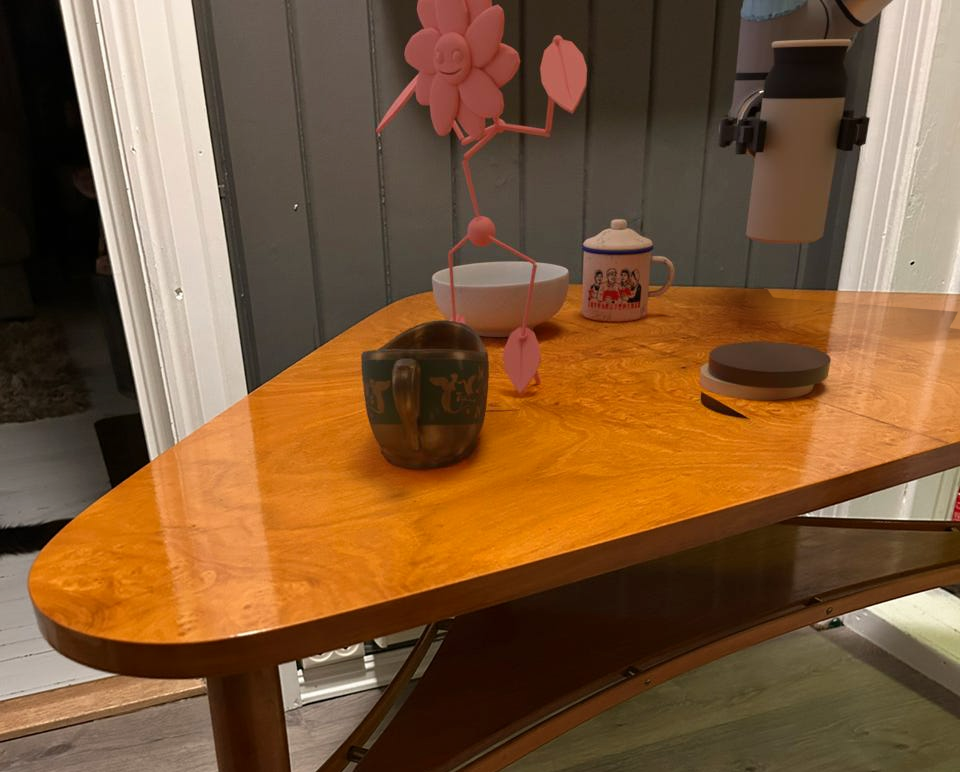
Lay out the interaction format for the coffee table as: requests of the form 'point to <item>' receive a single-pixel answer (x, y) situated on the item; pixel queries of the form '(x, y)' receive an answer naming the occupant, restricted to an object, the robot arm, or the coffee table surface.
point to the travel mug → (798, 141)
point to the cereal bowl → (501, 295)
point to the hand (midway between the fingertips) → (805, 136)
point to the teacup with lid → (619, 274)
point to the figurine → (483, 114)
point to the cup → (427, 394)
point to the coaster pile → (761, 372)
